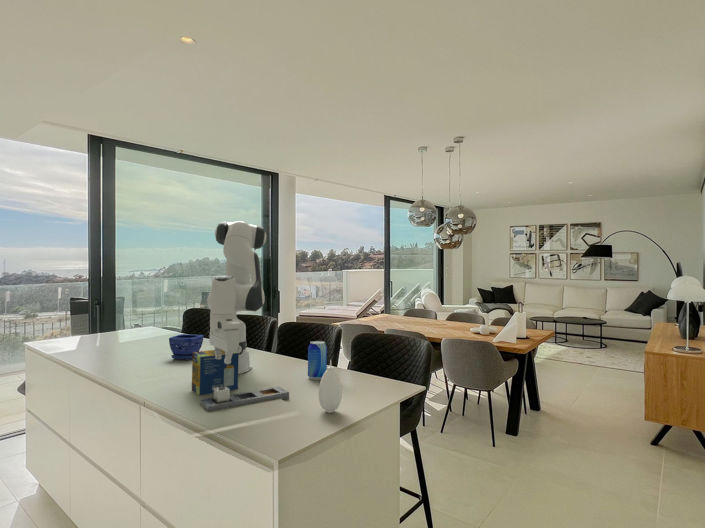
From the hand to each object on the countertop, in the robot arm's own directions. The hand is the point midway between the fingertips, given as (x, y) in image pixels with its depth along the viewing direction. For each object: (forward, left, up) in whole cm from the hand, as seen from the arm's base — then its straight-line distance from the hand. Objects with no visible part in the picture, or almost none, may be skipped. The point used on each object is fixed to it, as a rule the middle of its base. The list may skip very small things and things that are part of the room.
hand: (222, 361), depth 143 cm
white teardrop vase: (+25, +29, -16) cm, 41 cm away
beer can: (-15, +48, -16) cm, 53 cm away
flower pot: (-88, +10, -16) cm, 90 cm away
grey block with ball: (0, 0, -15) cm, 15 cm away
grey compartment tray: (0, +9, -16) cm, 18 cm away
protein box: (-20, +4, -16) cm, 26 cm away
